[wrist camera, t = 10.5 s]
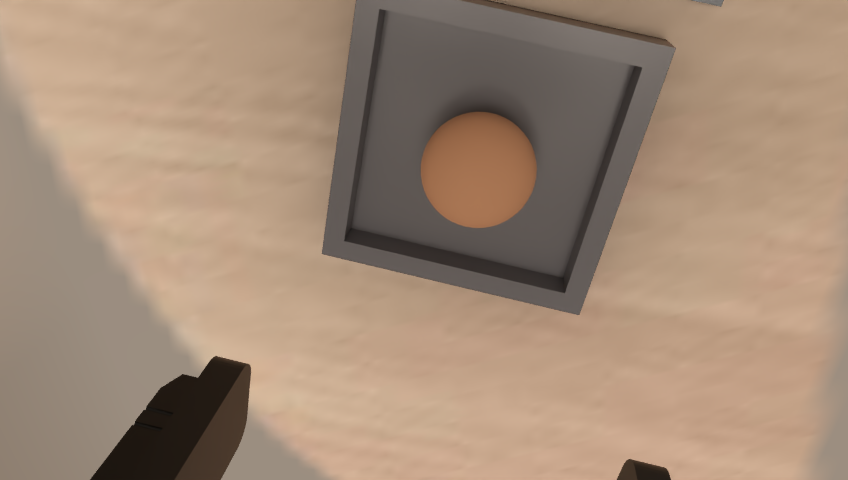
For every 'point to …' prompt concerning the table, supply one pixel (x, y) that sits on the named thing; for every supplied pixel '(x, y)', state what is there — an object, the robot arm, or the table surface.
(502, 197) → the ball
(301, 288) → the table surface
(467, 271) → the tray
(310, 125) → the table surface
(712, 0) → the distance line
